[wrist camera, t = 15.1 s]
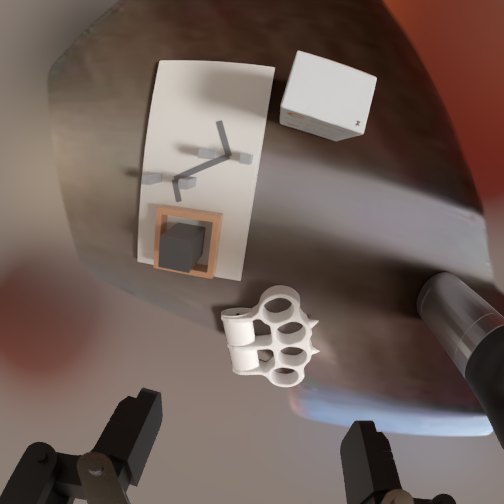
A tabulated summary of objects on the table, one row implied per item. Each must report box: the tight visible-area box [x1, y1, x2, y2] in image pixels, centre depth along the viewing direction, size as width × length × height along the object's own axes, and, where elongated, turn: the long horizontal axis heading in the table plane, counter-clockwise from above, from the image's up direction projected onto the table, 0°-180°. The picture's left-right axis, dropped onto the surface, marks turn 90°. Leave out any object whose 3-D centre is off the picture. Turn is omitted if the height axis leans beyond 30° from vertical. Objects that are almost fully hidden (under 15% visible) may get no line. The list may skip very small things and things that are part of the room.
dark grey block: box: [158, 223, 206, 273], centre depth 38 cm, size 4×4×7 cm
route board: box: [137, 60, 275, 281], centre depth 36 cm, size 16×30×5 cm, turn 171°
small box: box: [280, 50, 377, 141], centre depth 29 cm, size 8×6×13 cm
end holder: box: [153, 204, 223, 279], centre depth 40 cm, size 9×9×2 cm
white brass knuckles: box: [221, 285, 320, 387], centre depth 45 cm, size 3×18×15 cm
